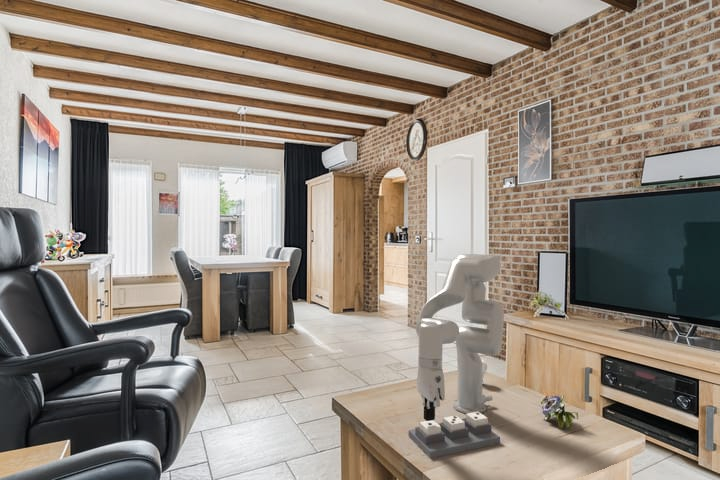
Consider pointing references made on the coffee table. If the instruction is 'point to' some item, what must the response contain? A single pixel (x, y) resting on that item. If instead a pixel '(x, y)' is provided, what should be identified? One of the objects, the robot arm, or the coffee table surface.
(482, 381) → the light bulb
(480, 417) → the two-dot tile
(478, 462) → the coffee table surface
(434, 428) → the one-dot tile
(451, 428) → the three-dot tile
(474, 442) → the key board
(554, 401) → the passion flower
